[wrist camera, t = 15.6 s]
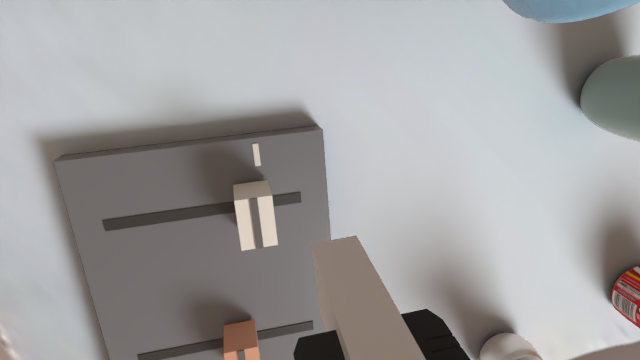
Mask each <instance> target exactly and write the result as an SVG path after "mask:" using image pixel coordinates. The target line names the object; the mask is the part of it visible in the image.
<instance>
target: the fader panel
mask: <svg viewBox="0 0 640 360" xmlns="http://www.w3.org/2000/svg"><path fill="white" fill-rule="evenodd" d="M53 163H54V167H55V170H56V174H57V177H58V181H59V184H60V188H61V191H62V195H63V198H64V202H65V205H66V209H67V212H68V215H69V219H70V222H71V226H72V229H73V233H74V236H75V240H76V243H77V247H78V250H79V254H80V257H81V261H82V264H83V268H84V271H85V275H86V278H87V282H88V285H89V289H90V292H91V296H92V299H93V303H94V306H95V310H96V313H97V317H98V320H99V324H100V327H101V331H102V334H103V338H104V341H105V345H106V348H107V352H108V355H109V359H110V360H225V359H224V325H229V324H234V323H240V322H245V321H250V320H255V324H256V331H257V338H258V345H259V351H260V359H261V360H294V355H293V353H294V350H295V347H296V344H297V341H298V338H300V337H304V336H309V335H314V334H318V333H323V332H326V330H325V327H324V323H323V320H322V316H321V312H320V305H319V297H318V290H317V282H316V275H315V268H314V260H313V253H312V245H311V244H314V243H320V242H325V241H330V240H331V234H330V220H329V207H328V194H327V180H326V167H325V154H324V140H323V129H321V128H320V127H319V126H318V125H317V126H308V127H300V128H291V129H283V130H274V131H266V132H257V133H249V134H241V135H232V136H224V137H215V138H207V139H198V140H190V141H181V142H173V143H165V144H156V145H148V146H139V147H131V148H122V149H114V150H105V151H97V152H88V153H80V154H72V155H63V156H61V157H59V158H58V159H57V160H55V161H54V162H53ZM264 180H268V183H269V187H270V190H271V193H272V198H273V207H274V215H275V224H276V232H277V240H278V245H274V246H268V247H264V248H261V249H250V250H244V251H242V250H241V244H240V237H239V230H238V224H237V217H236V210H235V204H234V192H233V185H235V184H242V183H249V182H257V181H264Z"/></svg>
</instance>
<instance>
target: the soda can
mask: <svg viewBox="0 0 640 360" xmlns="http://www.w3.org/2000/svg"><path fill="white" fill-rule="evenodd" d="M611 300H612V304H613V306H614V308H615V309H616V310H617V311H618V312H620V313H621V314H622V315H623V316H624V317H625V318H627V319H628V320H629V321H631V322H632V323H633V324H635V325H636V326H637V327H639V328H640V266H637V267H634V268H632V269H630V270H628V271H626V272H625V273H623V274H622V275H621V276H620V277H619V278H618V279H617V281H616V282H615V284H614V287H613V291H612V296H611Z"/></svg>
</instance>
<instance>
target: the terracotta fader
mask: <svg viewBox="0 0 640 360" xmlns="http://www.w3.org/2000/svg"><path fill="white" fill-rule="evenodd" d="M224 359H225V360H261V359H260V351H259V345H258V338H257V331H256V324H255V320H250V321H245V322H240V323H234V324H229V325H224Z"/></svg>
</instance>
